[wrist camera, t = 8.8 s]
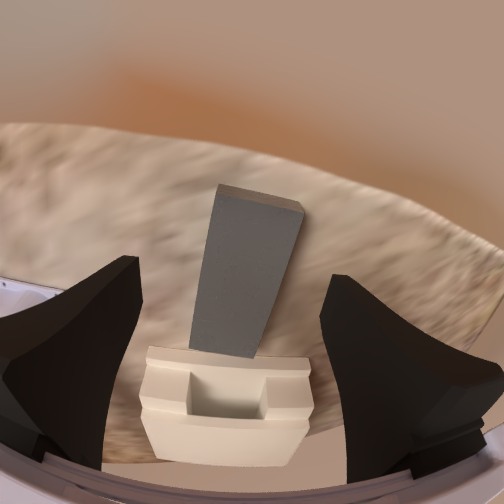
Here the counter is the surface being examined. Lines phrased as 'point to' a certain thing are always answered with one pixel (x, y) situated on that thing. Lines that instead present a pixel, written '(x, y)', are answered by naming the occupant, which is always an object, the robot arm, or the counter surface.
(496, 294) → the counter surface
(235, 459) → the slotted box
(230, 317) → the gray block
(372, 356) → the robot arm
